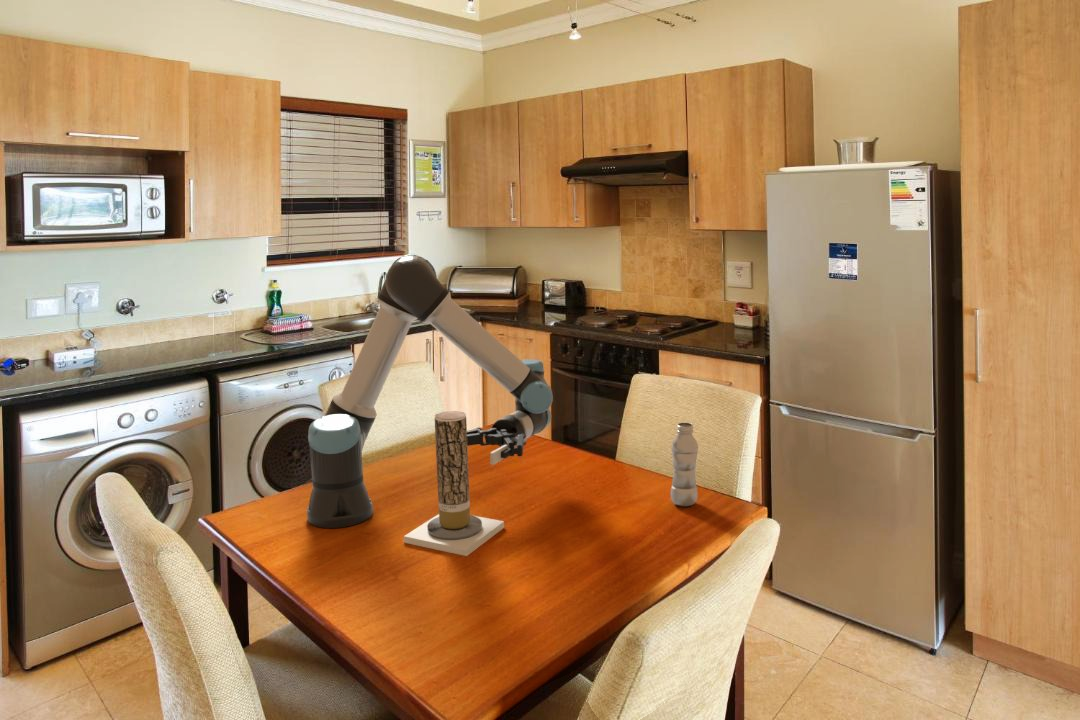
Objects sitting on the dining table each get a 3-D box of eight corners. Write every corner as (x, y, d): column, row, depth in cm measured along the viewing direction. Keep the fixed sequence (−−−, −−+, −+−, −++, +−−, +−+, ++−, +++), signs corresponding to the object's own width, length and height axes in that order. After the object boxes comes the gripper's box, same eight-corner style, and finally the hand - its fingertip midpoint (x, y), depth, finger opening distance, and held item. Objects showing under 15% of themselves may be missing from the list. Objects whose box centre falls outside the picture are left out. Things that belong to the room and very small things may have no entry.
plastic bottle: (700, 501, 186) (702, 422, 182) (693, 511, 180) (695, 429, 176) (674, 497, 189) (675, 419, 185) (666, 507, 183) (668, 426, 179)
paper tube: (465, 531, 165) (460, 419, 160) (435, 529, 166) (430, 418, 162) (474, 519, 172) (470, 411, 167) (445, 517, 173) (440, 410, 168)
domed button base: (404, 542, 166) (403, 531, 166) (445, 516, 180) (444, 506, 180) (466, 556, 159) (466, 545, 158) (504, 527, 173) (503, 517, 172)
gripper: (557, 450, 184) (514, 478, 165) (469, 438, 195) (420, 463, 176) (557, 420, 182) (513, 445, 164) (468, 410, 193) (418, 432, 175)
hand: (465, 455), depth 170 cm, fingers open, 13 cm apart
